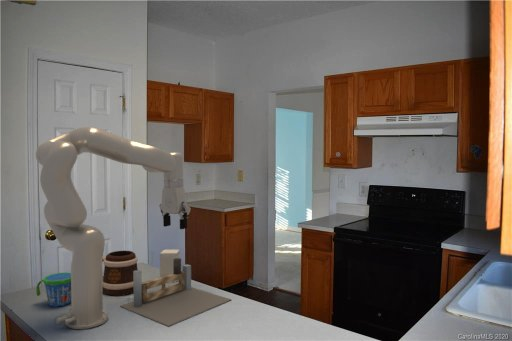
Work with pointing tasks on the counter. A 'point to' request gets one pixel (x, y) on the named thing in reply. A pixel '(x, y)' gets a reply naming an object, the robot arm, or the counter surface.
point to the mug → (119, 272)
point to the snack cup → (57, 288)
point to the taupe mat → (177, 306)
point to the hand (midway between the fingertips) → (175, 227)
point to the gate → (162, 281)
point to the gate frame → (138, 283)
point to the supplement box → (168, 261)
